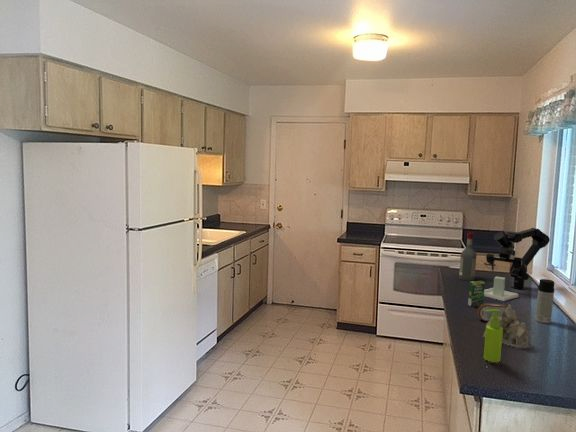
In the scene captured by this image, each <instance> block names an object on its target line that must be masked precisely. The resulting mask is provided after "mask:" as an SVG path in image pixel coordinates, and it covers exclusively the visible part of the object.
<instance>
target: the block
mask: <svg viewBox="0 0 576 432" xmlns="http://www.w3.org/2000/svg"><path fill="white" fill-rule="evenodd" d="M505 286H506V277H502V276H495V277H493V287H492V288H493V295H496V296H500V297H503V295H504V290H505Z"/></svg>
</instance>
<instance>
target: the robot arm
mask: <svg viewBox="0 0 576 432" xmlns="http://www.w3.org/2000/svg"><path fill="white" fill-rule="evenodd" d="M530 237H531V238H532V243H531V245H530V247H529V248H528V250H527V251H526V252H525V254H524V255H523V256H522V257H517V256H514V258H511V255H512V254H513V252H514V251H513V250H514V248H515V245H514V244H517V243H520V242H522V241H523V239H527V238H530ZM493 239H494V240H495V241H496V243H497V244H498V245H499V246H500V247H499V249H498V256H495V254H494V253H487V254H486V255H485V256H486V257H485V258H486V259H485V260H486V262H487V263H488V264H489V265H490V266H491V272H494V269H495V261H497V262H504V263H508V264H509V263H511V265H510V267H509V274H510V277H511V278H513V285H512V286H510V288H511V289H516V290H519V291H521V290H525V289H527V287H525V281H527V280H529V278H530V275H529V274H528V273H527V272H528V265H530V263H531V262H532V261H533V259H534V258H535V256H536V255H537V254H538V253H539V251H540V250H541V249H543V248H545V247H546V246H547V245H549V243H550V240H551V239H550V237H549V235H547V234H546V233H544V232H543V231H541V230H540V229H539V228H535V227H531V228H528V229H526V230H521V231H508V232H507V233H506V232H505V231H503V230H500V231H499V232H496V233H495V234H494V235H493ZM513 243H514V244H513Z"/></svg>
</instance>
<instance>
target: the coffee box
mask: <svg viewBox="0 0 576 432" xmlns="http://www.w3.org/2000/svg"><path fill="white" fill-rule="evenodd" d="M468 282H469V283H468V295H467V296H468V297H467V299H468V300H467V306H469V307H470V308H472V307H473V308H475V307H479V306H480V305H482V304H484V301H485V300H484V299H485V296H484V290H485V287H486V286H485V285H486V281H484V280H476V281H475V280H473V281H468Z"/></svg>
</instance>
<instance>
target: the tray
mask: <svg viewBox="0 0 576 432" xmlns="http://www.w3.org/2000/svg"><path fill="white" fill-rule="evenodd" d="M485 297H486V298H489V299H493V300H496V299H497V301H500V302H507V301H510V300H514V299H517V298H519V293H517V292H511V291H507V290H505V289H504V295H503V297H500V296H496V295H493V287H490V288H487V289H484V298H485Z"/></svg>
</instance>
